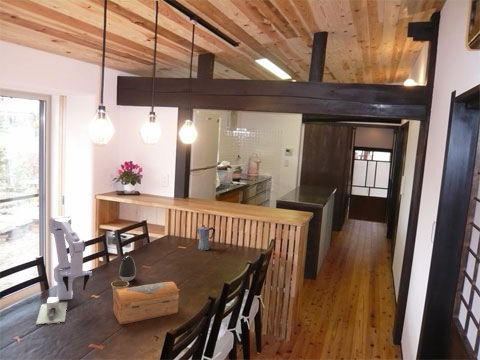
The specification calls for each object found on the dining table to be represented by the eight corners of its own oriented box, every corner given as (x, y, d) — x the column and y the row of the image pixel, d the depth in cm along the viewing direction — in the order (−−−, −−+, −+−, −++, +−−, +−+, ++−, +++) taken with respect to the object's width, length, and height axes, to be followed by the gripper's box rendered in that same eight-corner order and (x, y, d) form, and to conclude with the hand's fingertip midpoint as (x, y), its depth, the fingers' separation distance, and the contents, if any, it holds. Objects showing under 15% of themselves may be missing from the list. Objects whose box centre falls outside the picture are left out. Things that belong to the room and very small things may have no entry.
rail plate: (41, 306, 189) (41, 300, 188) (67, 303, 193) (67, 298, 193) (35, 325, 170) (36, 319, 170) (64, 322, 175) (64, 316, 174)
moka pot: (193, 247, 306) (195, 223, 304) (211, 246, 311) (213, 223, 308) (195, 250, 297) (197, 226, 295) (214, 250, 302) (216, 226, 299)
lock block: (47, 309, 184) (48, 297, 184) (59, 308, 186) (59, 296, 186) (46, 314, 179) (46, 302, 178) (58, 313, 181) (58, 301, 180)
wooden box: (167, 300, 207) (168, 276, 205) (178, 313, 193) (180, 288, 191) (112, 310, 191) (113, 284, 189) (119, 325, 177) (121, 297, 175)
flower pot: (122, 293, 210) (122, 278, 209) (131, 299, 205) (132, 284, 204) (107, 298, 203) (107, 283, 202) (116, 304, 197) (117, 288, 196)
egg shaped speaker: (114, 280, 228) (115, 256, 226) (127, 275, 237) (128, 252, 235) (126, 284, 223) (128, 260, 221) (139, 279, 232) (140, 255, 231)
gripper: (60, 267, 181) (59, 294, 183) (92, 266, 186) (91, 292, 188) (61, 263, 188) (60, 288, 189) (92, 261, 193) (91, 286, 195)
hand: (75, 289), depth 189 cm, fingers open, 7 cm apart
